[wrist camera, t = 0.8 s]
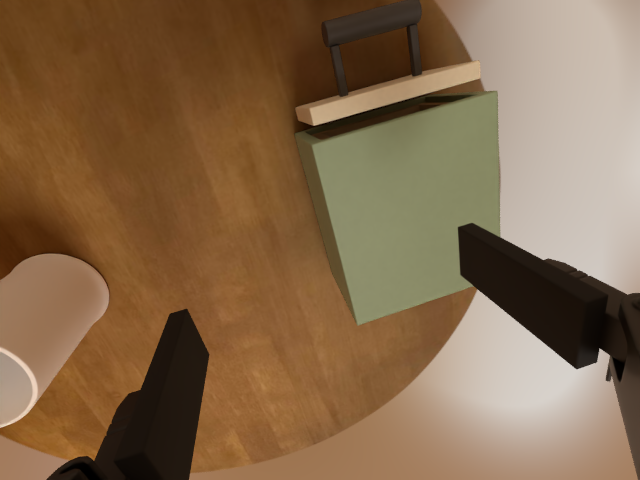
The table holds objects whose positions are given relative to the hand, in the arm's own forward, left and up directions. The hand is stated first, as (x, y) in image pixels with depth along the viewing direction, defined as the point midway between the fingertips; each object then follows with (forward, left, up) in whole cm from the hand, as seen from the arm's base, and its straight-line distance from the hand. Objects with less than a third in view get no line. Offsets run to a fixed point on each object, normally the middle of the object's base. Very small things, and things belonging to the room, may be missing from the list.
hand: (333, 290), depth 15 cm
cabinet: (+3, +9, -19) cm, 21 cm away
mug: (+2, -25, -19) cm, 32 cm away
